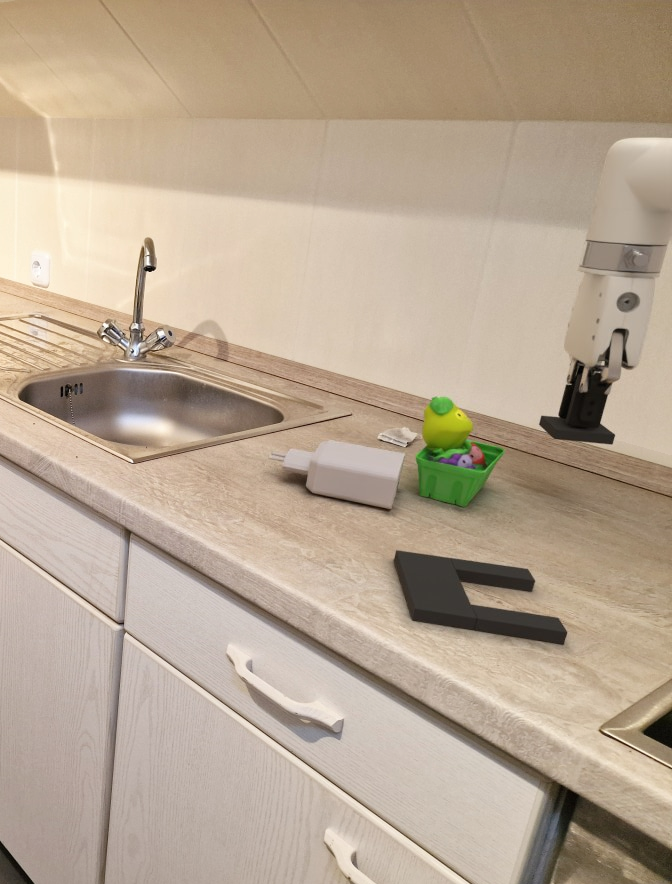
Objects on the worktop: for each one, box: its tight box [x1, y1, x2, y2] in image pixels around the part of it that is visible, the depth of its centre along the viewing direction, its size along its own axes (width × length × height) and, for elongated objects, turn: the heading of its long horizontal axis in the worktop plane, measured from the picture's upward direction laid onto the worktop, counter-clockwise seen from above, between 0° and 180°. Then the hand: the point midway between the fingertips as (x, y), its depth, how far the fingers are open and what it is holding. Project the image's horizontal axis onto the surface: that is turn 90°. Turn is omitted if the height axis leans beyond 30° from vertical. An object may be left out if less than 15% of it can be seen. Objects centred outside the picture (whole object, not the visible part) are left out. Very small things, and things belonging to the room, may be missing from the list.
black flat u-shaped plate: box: [393, 549, 569, 645], centre depth 78 cm, size 12×12×1 cm
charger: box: [267, 439, 406, 510], centre depth 102 cm, size 5×9×15 cm
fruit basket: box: [415, 396, 506, 508], centre depth 102 cm, size 11×9×11 cm
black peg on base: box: [538, 374, 616, 445], centre depth 98 cm, size 6×6×7 cm
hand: (578, 421), depth 99 cm, fingers closed on black peg on base, 2 cm apart
